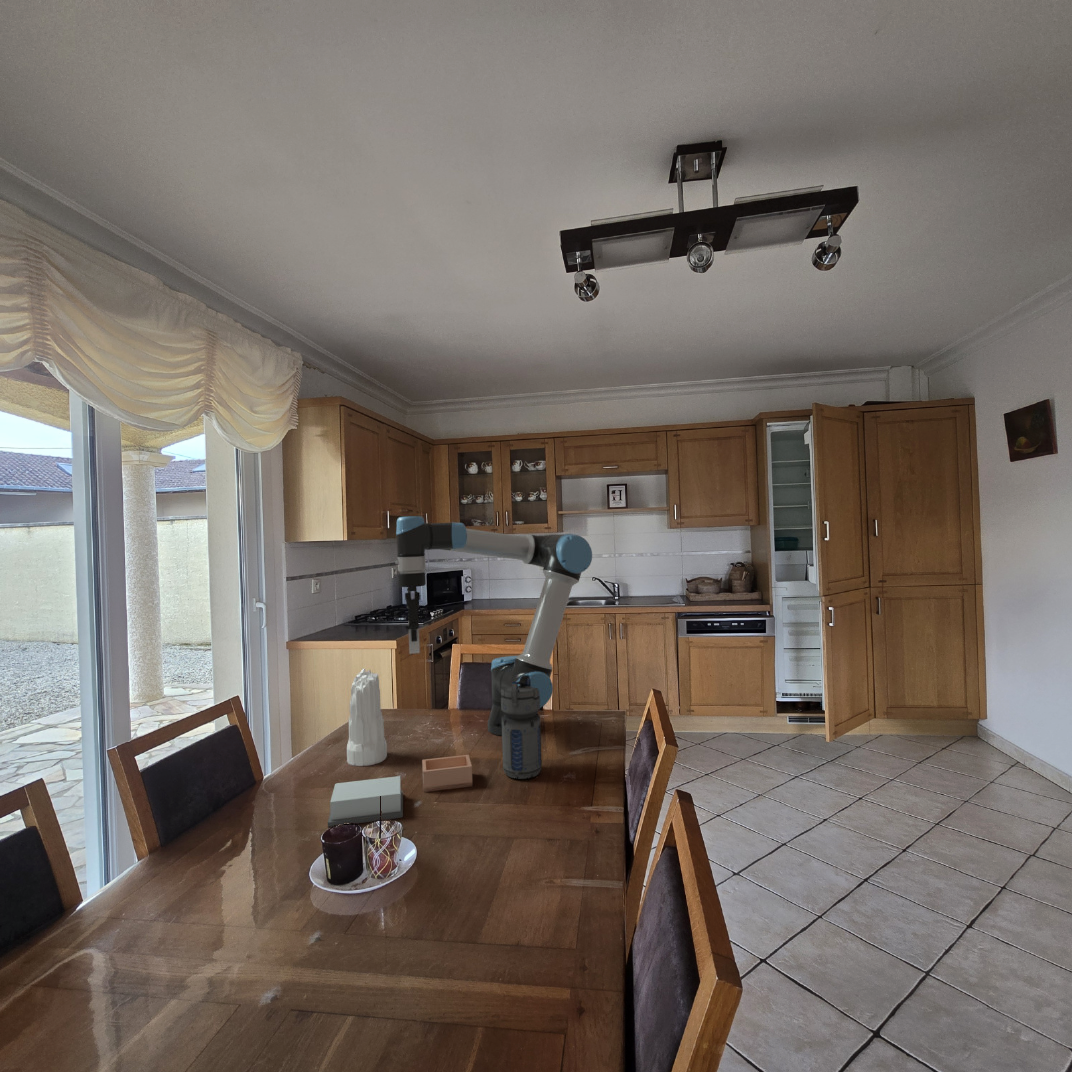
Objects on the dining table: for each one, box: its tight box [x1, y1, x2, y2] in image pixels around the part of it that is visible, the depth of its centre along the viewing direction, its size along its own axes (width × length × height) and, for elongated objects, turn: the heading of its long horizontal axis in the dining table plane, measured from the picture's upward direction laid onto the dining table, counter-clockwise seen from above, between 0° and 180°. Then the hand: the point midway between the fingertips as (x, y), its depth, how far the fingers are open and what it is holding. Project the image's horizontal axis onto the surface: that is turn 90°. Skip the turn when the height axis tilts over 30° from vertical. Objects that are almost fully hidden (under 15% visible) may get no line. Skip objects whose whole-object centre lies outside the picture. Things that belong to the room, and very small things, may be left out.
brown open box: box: [421, 754, 473, 793], centre depth 152 cm, size 12×8×5 cm, turn 102°
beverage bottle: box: [501, 675, 543, 780], centre depth 157 cm, size 10×13×25 cm
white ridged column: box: [346, 668, 388, 767], centre depth 170 cm, size 11×11×25 cm
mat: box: [327, 790, 404, 828], centre depth 138 cm, size 16×12×1 cm
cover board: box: [329, 775, 402, 820], centre depth 138 cm, size 15×10×4 cm, turn 102°
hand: (414, 648), depth 166 cm, fingers open, 13 cm apart
